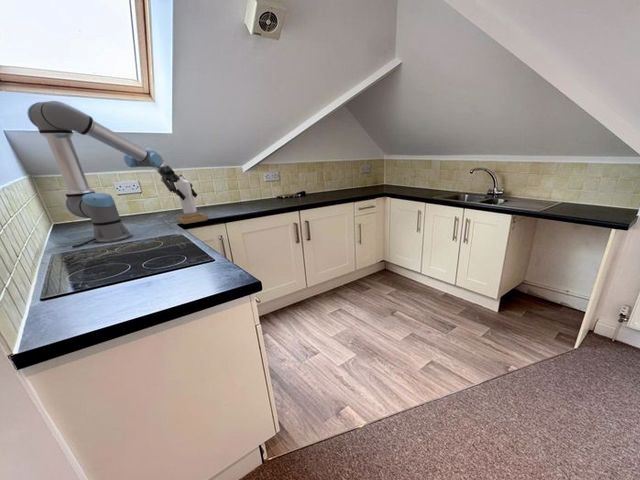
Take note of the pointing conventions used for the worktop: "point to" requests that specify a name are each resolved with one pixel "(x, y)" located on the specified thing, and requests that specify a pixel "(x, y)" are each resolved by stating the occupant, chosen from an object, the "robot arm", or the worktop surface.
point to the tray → (192, 218)
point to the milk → (186, 196)
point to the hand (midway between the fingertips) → (190, 197)
